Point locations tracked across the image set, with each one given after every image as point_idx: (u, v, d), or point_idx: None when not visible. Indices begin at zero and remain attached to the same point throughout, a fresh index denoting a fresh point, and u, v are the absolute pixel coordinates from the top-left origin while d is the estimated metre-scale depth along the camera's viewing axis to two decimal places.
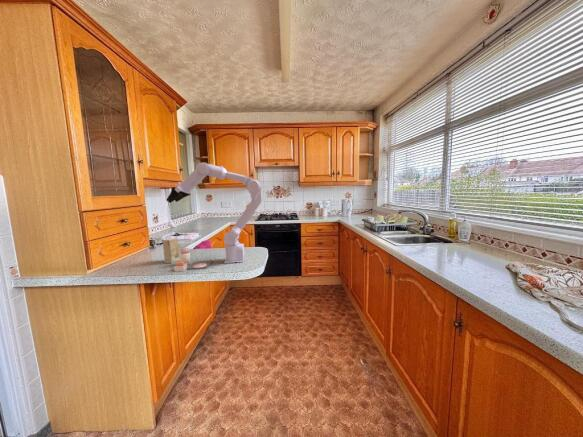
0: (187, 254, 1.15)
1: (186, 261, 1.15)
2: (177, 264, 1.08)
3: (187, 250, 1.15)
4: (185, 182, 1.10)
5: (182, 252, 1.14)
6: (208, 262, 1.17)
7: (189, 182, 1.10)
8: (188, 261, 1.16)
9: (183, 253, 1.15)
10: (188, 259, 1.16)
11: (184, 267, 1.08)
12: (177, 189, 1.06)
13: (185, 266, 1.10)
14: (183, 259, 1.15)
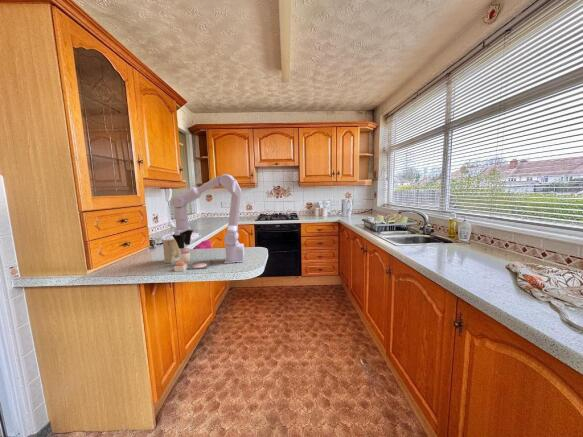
0: (187, 254, 1.15)
1: (186, 261, 1.15)
2: (177, 264, 1.08)
3: (187, 250, 1.15)
4: (177, 223, 1.12)
5: (182, 252, 1.14)
6: (208, 262, 1.17)
7: (180, 220, 1.12)
8: (188, 261, 1.16)
9: (183, 253, 1.15)
10: (188, 259, 1.16)
11: (184, 267, 1.08)
12: (176, 233, 1.08)
13: (185, 266, 1.10)
14: (183, 259, 1.15)
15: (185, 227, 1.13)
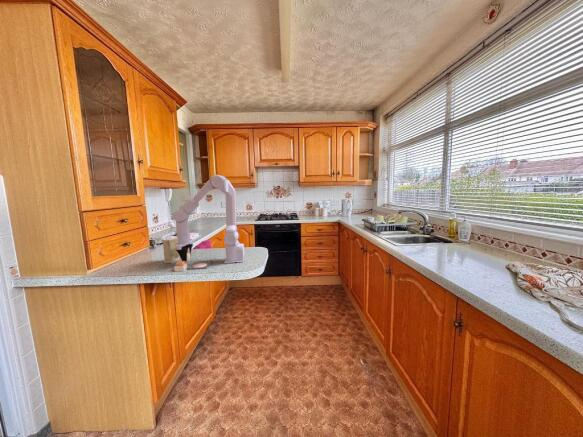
0: (187, 254, 1.15)
1: (186, 261, 1.15)
2: (177, 264, 1.08)
3: None
4: (179, 237, 1.13)
5: None
6: (208, 262, 1.17)
7: (181, 235, 1.13)
8: (188, 261, 1.16)
9: None
10: (188, 259, 1.16)
11: (184, 267, 1.08)
12: (178, 247, 1.09)
13: (185, 266, 1.10)
14: None
15: (186, 241, 1.14)
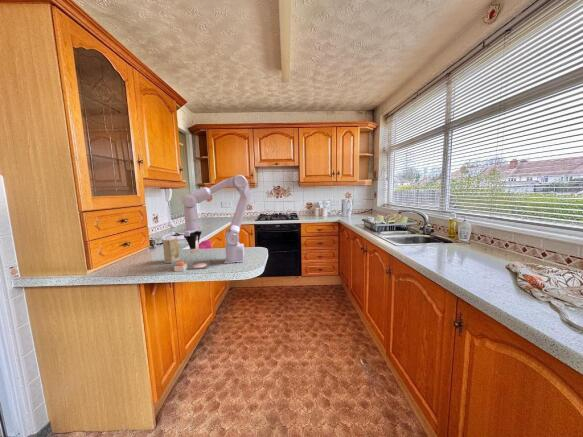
0: None
1: (194, 249, 1.11)
2: (177, 264, 1.08)
3: None
4: (187, 224, 1.08)
5: None
6: (208, 262, 1.17)
7: (190, 221, 1.08)
8: (196, 249, 1.12)
9: None
10: (196, 247, 1.12)
11: (184, 267, 1.08)
12: (186, 234, 1.04)
13: (185, 266, 1.10)
14: None
15: (195, 228, 1.09)
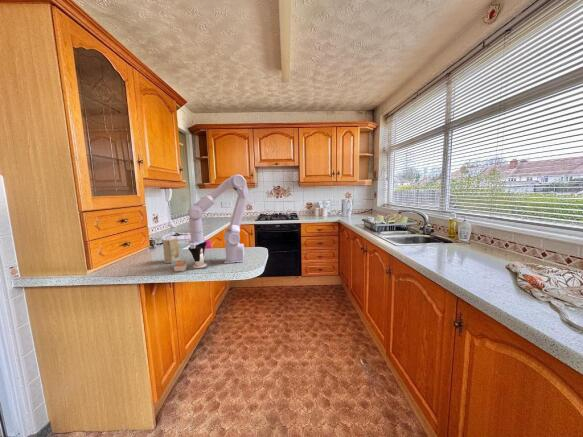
0: (201, 255, 1.10)
1: (200, 262, 1.10)
2: (177, 264, 1.08)
3: (201, 251, 1.10)
4: (192, 236, 1.08)
5: None
6: (208, 262, 1.17)
7: (195, 233, 1.07)
8: (202, 262, 1.11)
9: None
10: (202, 260, 1.11)
11: (184, 267, 1.08)
12: (192, 246, 1.04)
13: (185, 266, 1.10)
14: None
15: (200, 239, 1.09)
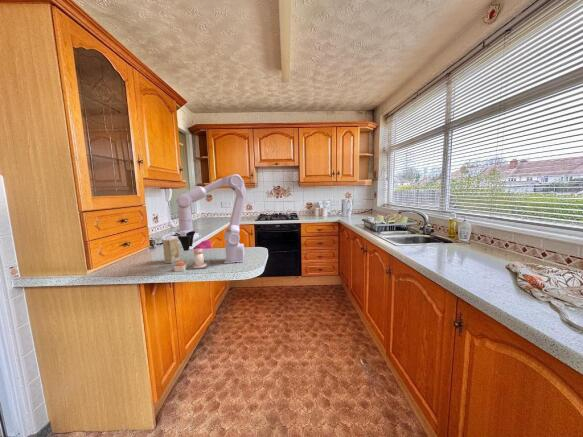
0: (201, 255, 1.10)
1: (200, 262, 1.10)
2: (177, 264, 1.08)
3: (201, 251, 1.10)
4: (182, 224, 1.05)
5: (196, 253, 1.09)
6: (208, 262, 1.17)
7: (184, 221, 1.05)
8: (202, 262, 1.11)
9: (197, 254, 1.10)
10: (202, 260, 1.11)
11: (184, 267, 1.08)
12: (182, 234, 1.01)
13: (185, 266, 1.10)
14: (196, 260, 1.10)
15: (190, 228, 1.07)
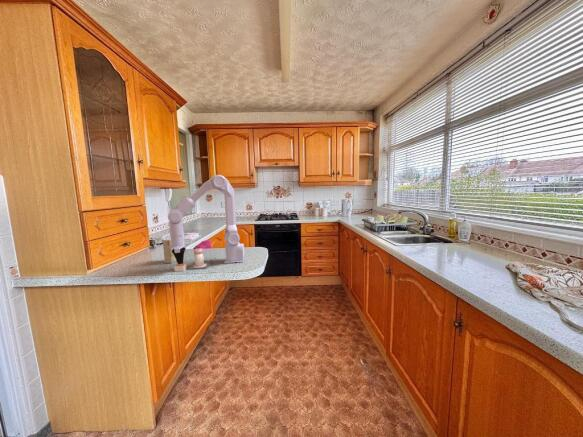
0: (201, 255, 1.10)
1: (200, 262, 1.10)
2: None
3: (201, 251, 1.10)
4: (174, 240, 1.05)
5: (196, 253, 1.10)
6: (208, 262, 1.17)
7: (177, 237, 1.05)
8: (202, 262, 1.11)
9: (197, 254, 1.10)
10: (202, 260, 1.11)
11: (184, 267, 1.08)
12: (176, 250, 1.01)
13: (185, 266, 1.10)
14: (196, 260, 1.10)
15: (182, 243, 1.07)
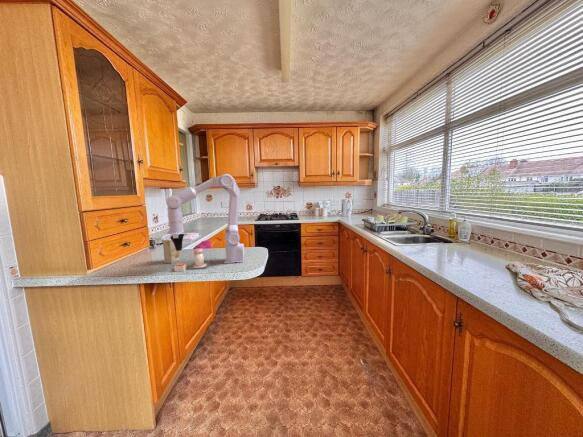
0: (201, 255, 1.10)
1: (200, 262, 1.10)
2: None
3: (201, 251, 1.10)
4: (173, 226, 1.04)
5: (196, 253, 1.10)
6: (208, 262, 1.17)
7: (175, 222, 1.04)
8: (202, 262, 1.11)
9: (196, 254, 1.10)
10: (202, 260, 1.11)
11: (184, 267, 1.08)
12: (175, 235, 1.00)
13: (185, 266, 1.10)
14: (196, 260, 1.10)
15: (181, 229, 1.06)
